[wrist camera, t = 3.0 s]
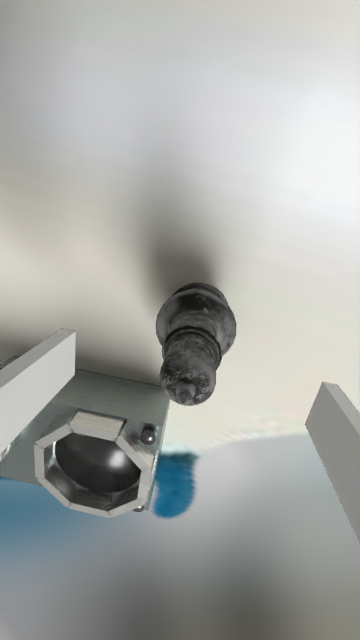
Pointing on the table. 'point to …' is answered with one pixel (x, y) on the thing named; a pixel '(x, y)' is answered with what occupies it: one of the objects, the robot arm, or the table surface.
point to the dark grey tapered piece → (193, 341)
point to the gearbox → (93, 444)
